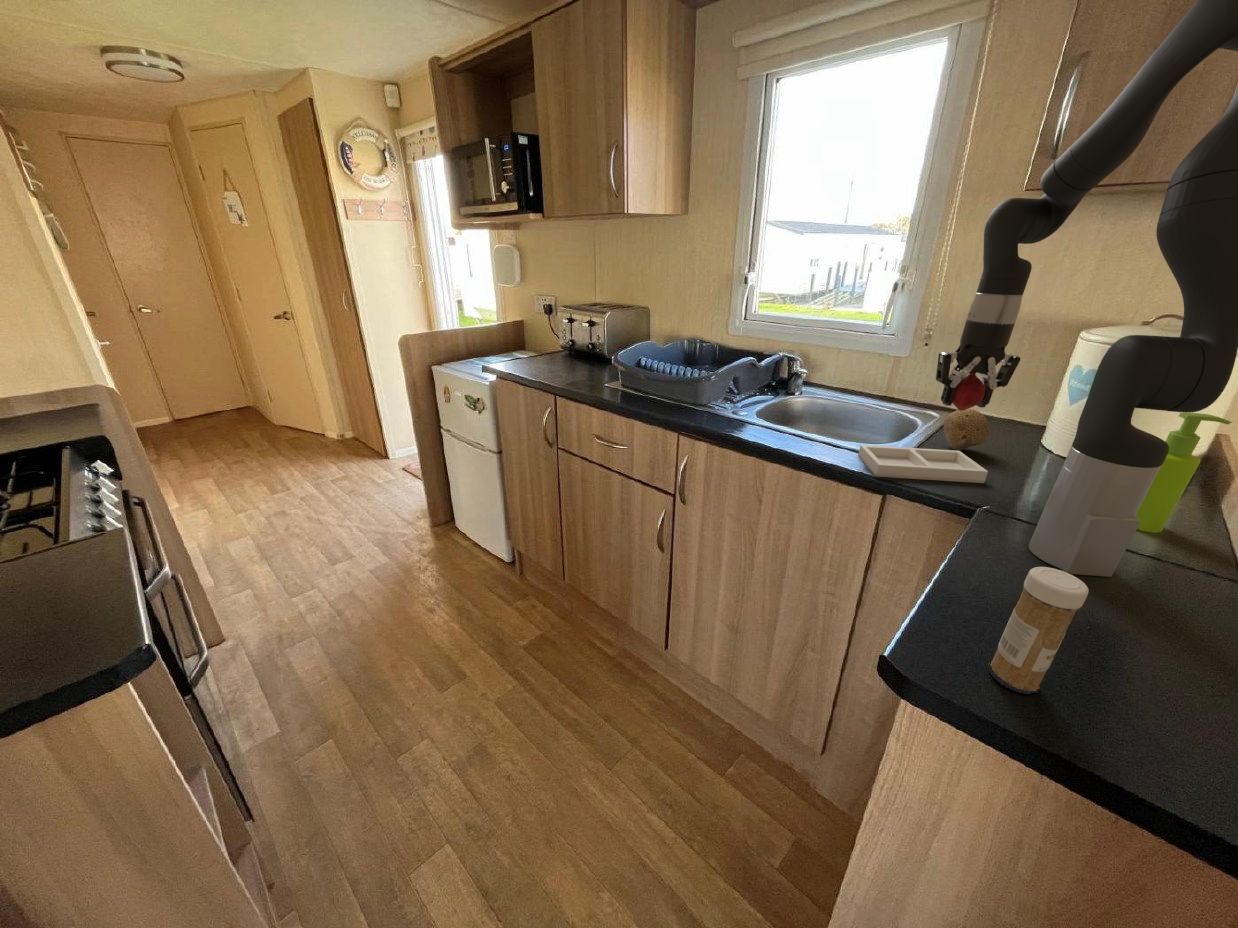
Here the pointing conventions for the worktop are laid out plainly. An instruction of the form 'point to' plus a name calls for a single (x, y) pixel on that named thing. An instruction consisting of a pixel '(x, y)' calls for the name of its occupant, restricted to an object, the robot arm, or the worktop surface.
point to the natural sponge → (965, 429)
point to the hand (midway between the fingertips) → (963, 405)
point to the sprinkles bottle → (1037, 626)
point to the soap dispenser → (1173, 473)
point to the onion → (968, 392)
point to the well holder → (921, 464)
